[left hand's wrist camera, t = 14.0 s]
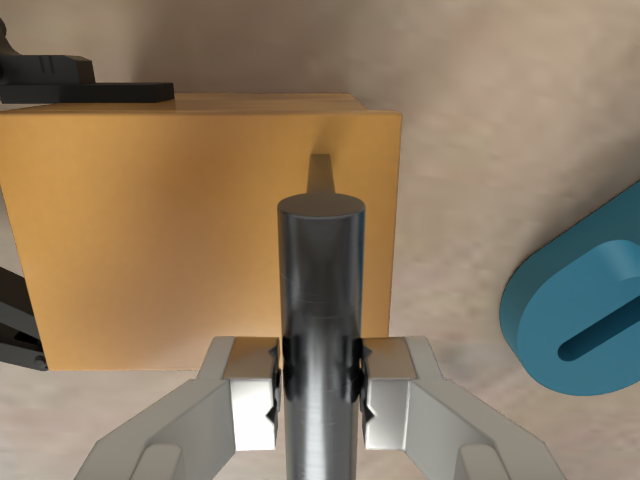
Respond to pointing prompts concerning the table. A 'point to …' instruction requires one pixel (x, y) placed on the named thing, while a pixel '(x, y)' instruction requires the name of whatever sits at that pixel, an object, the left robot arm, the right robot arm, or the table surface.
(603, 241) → the blue clevis bracket
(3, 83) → the right robot arm
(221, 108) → the chest
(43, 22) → the table surface
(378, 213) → the lid
